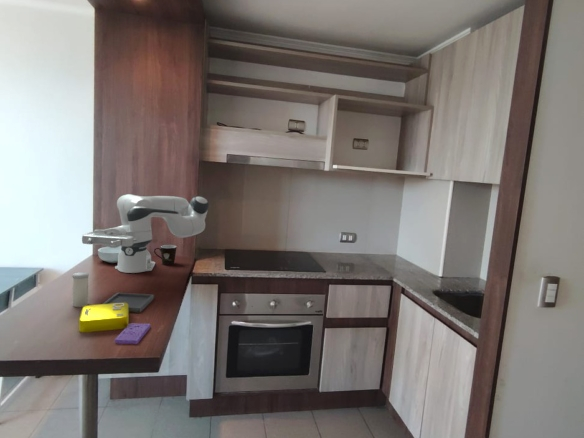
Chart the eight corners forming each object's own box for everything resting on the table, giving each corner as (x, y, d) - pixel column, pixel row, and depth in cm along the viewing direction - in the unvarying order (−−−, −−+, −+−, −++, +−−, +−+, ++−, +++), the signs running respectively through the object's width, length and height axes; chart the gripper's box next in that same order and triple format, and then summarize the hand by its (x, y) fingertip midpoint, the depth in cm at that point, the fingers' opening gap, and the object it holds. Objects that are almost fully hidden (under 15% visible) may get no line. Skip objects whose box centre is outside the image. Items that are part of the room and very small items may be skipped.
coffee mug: (179, 263, 212) (179, 246, 211) (168, 266, 204) (169, 249, 203) (163, 260, 217) (164, 243, 215) (152, 263, 209) (153, 245, 208)
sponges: (150, 328, 128) (150, 323, 128) (137, 345, 116) (137, 340, 116) (129, 327, 128) (129, 322, 128) (114, 344, 116) (114, 339, 115)
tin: (77, 301, 146) (77, 272, 145) (91, 302, 146) (91, 272, 145) (69, 306, 141) (69, 276, 139) (84, 307, 141) (83, 276, 140)
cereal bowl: (97, 258, 211) (98, 246, 210) (129, 257, 219) (129, 245, 218) (97, 266, 196) (97, 253, 195) (131, 264, 204) (132, 251, 203)
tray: (117, 296, 154) (117, 292, 154) (153, 298, 155) (153, 294, 155) (99, 310, 140) (99, 305, 139) (139, 312, 140) (140, 308, 140)
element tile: (82, 316, 134) (82, 304, 133) (128, 312, 140) (128, 300, 140) (78, 334, 120) (78, 320, 120) (128, 329, 127) (128, 315, 126)
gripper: (138, 246, 167) (126, 252, 153) (91, 243, 165) (75, 249, 152) (138, 232, 166) (126, 237, 152) (91, 229, 165) (75, 233, 151)
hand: (100, 243), depth 152 cm, fingers open, 8 cm apart
